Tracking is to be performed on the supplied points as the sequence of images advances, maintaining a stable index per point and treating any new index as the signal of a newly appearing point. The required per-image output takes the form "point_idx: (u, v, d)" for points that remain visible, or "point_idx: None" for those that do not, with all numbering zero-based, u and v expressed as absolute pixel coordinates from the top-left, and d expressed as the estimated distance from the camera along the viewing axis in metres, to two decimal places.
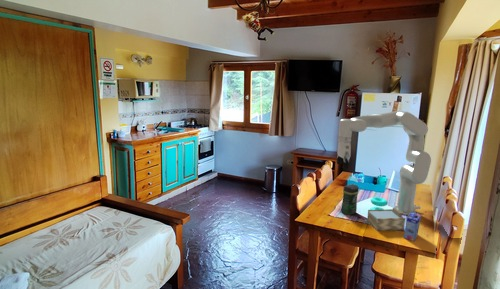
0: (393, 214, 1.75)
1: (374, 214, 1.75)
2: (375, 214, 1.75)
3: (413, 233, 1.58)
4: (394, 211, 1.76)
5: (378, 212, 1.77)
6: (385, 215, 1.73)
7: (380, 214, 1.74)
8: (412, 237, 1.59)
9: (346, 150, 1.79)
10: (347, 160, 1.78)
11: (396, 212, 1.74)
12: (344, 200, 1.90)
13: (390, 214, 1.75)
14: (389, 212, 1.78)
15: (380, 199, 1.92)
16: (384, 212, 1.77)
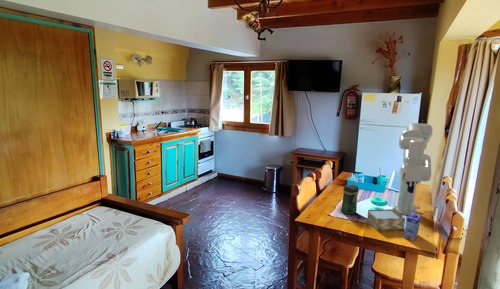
0: (393, 214, 1.75)
1: (374, 214, 1.75)
2: (375, 214, 1.75)
3: (413, 233, 1.58)
4: (394, 211, 1.76)
5: (378, 212, 1.77)
6: (385, 215, 1.73)
7: (380, 214, 1.74)
8: (412, 237, 1.59)
9: None
10: None
11: (396, 212, 1.74)
12: (344, 200, 1.90)
13: (390, 214, 1.75)
14: (389, 212, 1.78)
15: (380, 199, 1.92)
16: (384, 212, 1.77)
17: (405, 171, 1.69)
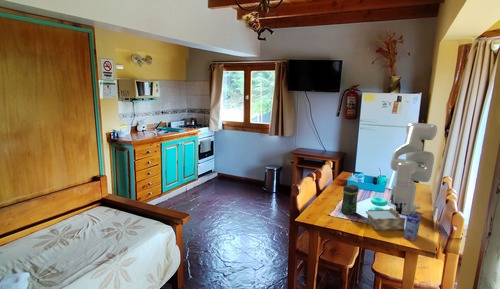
0: (390, 214, 1.75)
1: (371, 214, 1.74)
2: (372, 214, 1.74)
3: (413, 233, 1.58)
4: (391, 211, 1.76)
5: (375, 212, 1.77)
6: (382, 215, 1.73)
7: (376, 214, 1.74)
8: (412, 237, 1.59)
9: None
10: None
11: (393, 212, 1.74)
12: (344, 200, 1.90)
13: (387, 214, 1.75)
14: (386, 212, 1.77)
15: (380, 199, 1.92)
16: (381, 212, 1.77)
17: (393, 193, 1.71)
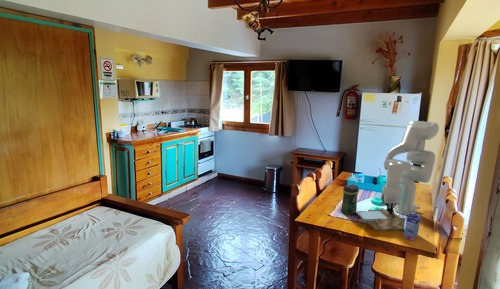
0: (381, 214, 1.74)
1: (362, 214, 1.74)
2: (363, 214, 1.74)
3: (413, 233, 1.58)
4: (382, 211, 1.76)
5: (366, 212, 1.77)
6: (373, 215, 1.73)
7: (367, 214, 1.74)
8: (412, 237, 1.59)
9: None
10: None
11: (384, 212, 1.74)
12: (344, 200, 1.90)
13: (378, 214, 1.75)
14: (377, 212, 1.77)
15: (380, 199, 1.92)
16: (372, 212, 1.77)
17: (384, 193, 1.71)
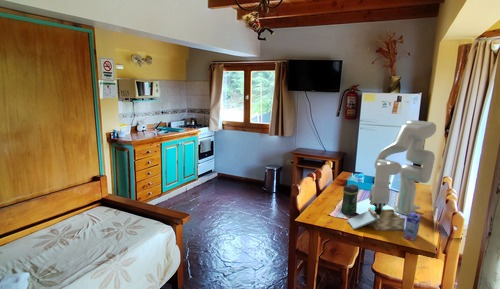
0: (370, 215, 1.74)
1: (351, 222, 1.76)
2: (352, 222, 1.76)
3: (413, 233, 1.58)
4: (370, 211, 1.75)
5: (356, 218, 1.78)
6: (362, 220, 1.74)
7: (357, 220, 1.75)
8: (412, 237, 1.59)
9: None
10: None
11: (371, 213, 1.73)
12: (344, 200, 1.90)
13: (367, 216, 1.75)
14: (366, 213, 1.77)
15: None
16: (361, 215, 1.77)
17: (372, 193, 1.70)
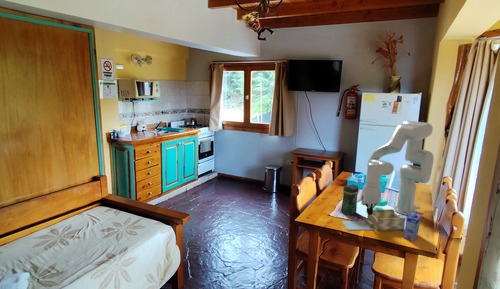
0: (365, 225, 1.75)
1: (346, 224, 1.75)
2: (347, 224, 1.75)
3: (413, 233, 1.58)
4: (366, 222, 1.77)
5: (350, 222, 1.78)
6: (356, 226, 1.74)
7: (351, 225, 1.75)
8: (412, 237, 1.59)
9: None
10: None
11: (368, 223, 1.74)
12: (344, 200, 1.90)
13: (362, 224, 1.76)
14: (361, 222, 1.78)
15: None
16: (356, 222, 1.78)
17: (363, 193, 1.70)
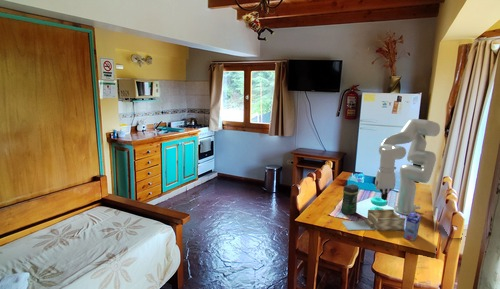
0: (365, 225, 1.75)
1: (346, 224, 1.75)
2: (347, 224, 1.75)
3: (413, 233, 1.58)
4: (366, 222, 1.77)
5: (350, 222, 1.78)
6: (357, 226, 1.74)
7: (351, 225, 1.75)
8: (412, 237, 1.59)
9: None
10: None
11: (368, 223, 1.74)
12: (344, 200, 1.90)
13: (362, 224, 1.76)
14: (361, 222, 1.78)
15: (380, 199, 1.92)
16: (356, 222, 1.78)
17: (378, 179, 1.69)
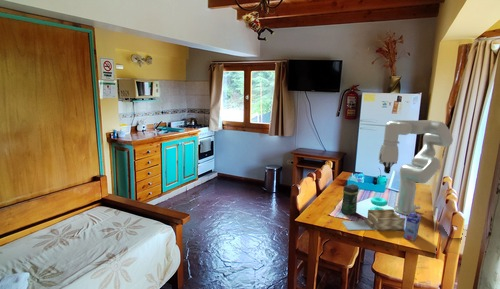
0: (365, 225, 1.75)
1: (346, 224, 1.75)
2: (347, 224, 1.75)
3: (413, 233, 1.58)
4: (366, 222, 1.77)
5: (351, 222, 1.78)
6: (357, 226, 1.74)
7: (351, 225, 1.75)
8: (412, 237, 1.59)
9: None
10: None
11: (368, 223, 1.74)
12: (344, 200, 1.90)
13: (363, 224, 1.76)
14: (362, 222, 1.78)
15: (380, 199, 1.92)
16: (357, 222, 1.78)
17: (381, 152, 1.78)
